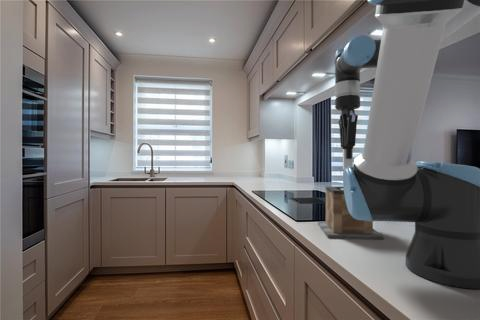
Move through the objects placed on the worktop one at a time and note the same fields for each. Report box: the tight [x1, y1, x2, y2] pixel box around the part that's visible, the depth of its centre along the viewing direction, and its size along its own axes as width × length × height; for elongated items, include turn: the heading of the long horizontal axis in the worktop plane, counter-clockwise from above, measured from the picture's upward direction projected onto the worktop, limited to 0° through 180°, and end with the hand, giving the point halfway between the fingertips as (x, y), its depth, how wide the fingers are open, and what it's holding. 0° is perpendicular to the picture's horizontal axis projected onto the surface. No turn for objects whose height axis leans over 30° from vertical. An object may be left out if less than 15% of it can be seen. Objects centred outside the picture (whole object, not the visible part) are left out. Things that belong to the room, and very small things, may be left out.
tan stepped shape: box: [317, 186, 384, 240], centre depth 88 cm, size 16×16×14 cm
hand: (347, 168), depth 87 cm, fingers closed
